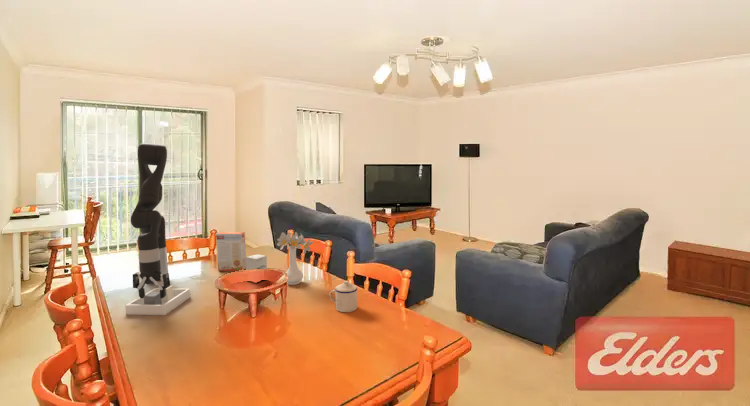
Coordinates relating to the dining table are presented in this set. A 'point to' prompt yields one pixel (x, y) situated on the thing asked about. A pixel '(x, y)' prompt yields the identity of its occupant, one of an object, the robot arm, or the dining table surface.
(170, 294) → the cream block
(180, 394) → the dining table surface
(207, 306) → the dining table surface
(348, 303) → the teacup with lid
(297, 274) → the flower vase
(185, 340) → the dining table surface
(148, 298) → the charcoal block
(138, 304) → the tray
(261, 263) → the supplement box
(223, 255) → the cracker box
